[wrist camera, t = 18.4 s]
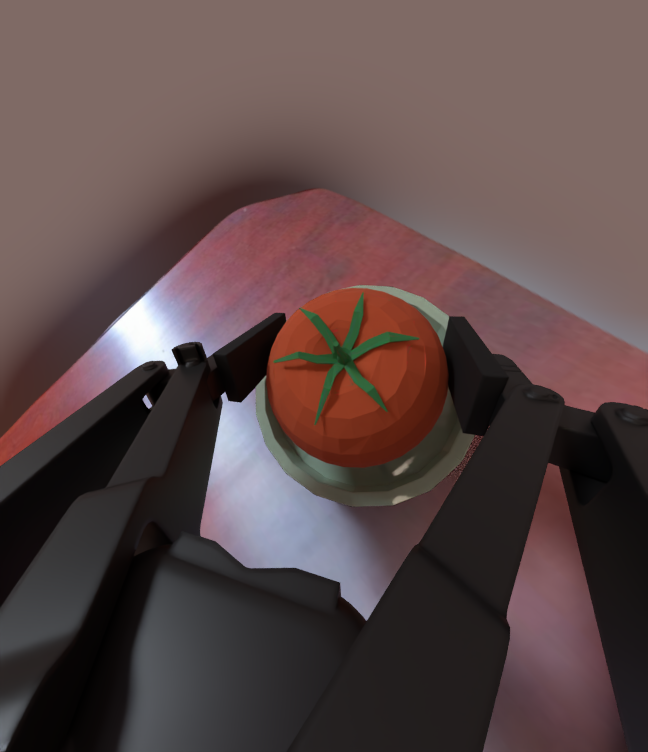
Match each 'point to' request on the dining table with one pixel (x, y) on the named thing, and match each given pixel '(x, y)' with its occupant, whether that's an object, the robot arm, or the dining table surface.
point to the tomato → (357, 377)
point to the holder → (379, 481)
